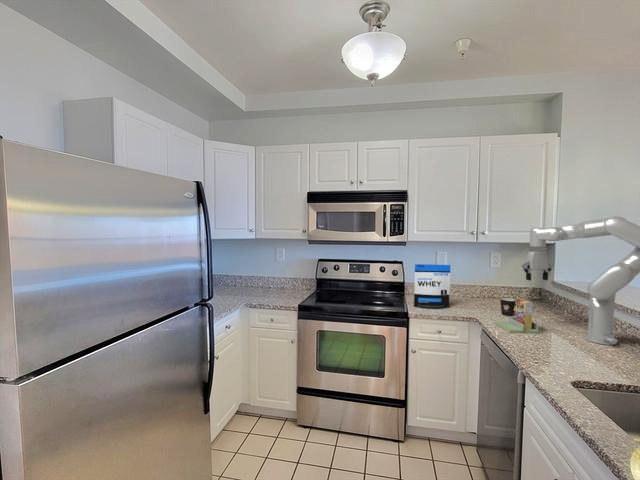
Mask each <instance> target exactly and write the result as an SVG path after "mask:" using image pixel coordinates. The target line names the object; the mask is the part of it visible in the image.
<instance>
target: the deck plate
mask: <svg viewBox="0 0 640 480" xmlns="http://www.w3.org/2000/svg"><path fill="white" fill-rule="evenodd" d="M493 324H494V326H497V327H499V328H500V329H502V330H504V331H506V332H507V333H509V334H540V333H542V332H543V331H542V330H541V329H539V328H538V331H536V330H534V329H532V328H531V330H528V329H524V331H522V330H520V329H518V328H516V327H515V326H513V325H511V324H509V321H497V320H496V321H494V323H493ZM542 334H543V333H542Z"/></svg>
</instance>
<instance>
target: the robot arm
mask: <svg viewBox="0 0 640 480" xmlns="http://www.w3.org/2000/svg"><path fill="white" fill-rule="evenodd" d="M605 236H613V237H616V238H617V239H619V240H621V241H624V242H625V243H628V244H629V245H632V246H633V247H635V248H634V249H633V250H632V251H631V252H629V254H627V255H626V256H625V257H624V258H622V259H621V260H620V261H619V262H617V263H614V264H613V265H611V266H610V267H609V268H607V269H606V270H605V271H604V272H602V273H601V274H599V276H598V277H595V279H594V280H592V281H591V282H590V283H589V284H588V285H587V294H588V295H589V305H588V306H589V307H588V319H587V320H588V323H587V324H588V325H587V334H584V335H583V339H585V341H588V342H591V343H595V344H599V345H607V346H612V345H613V346H614V345H617V343H618V341H619V340H618V339H616V338H615V335H614V334H613V332H614V315H615V304H616V303H615V302H616V294H617V293H618V292H619V291H621V290H622V289H623V288H625V287H626V286H627V285H629V284H630V283H631V282H632V281H633V280H634V279H635V278H636V276H638V275H639V274H640V225H637V224H636V223H633V222H631V221H629V220H627V219H626V218H625V217H623V216H610V217H607V218H600V219H594V220H587V221H582V222H580V223H577V224H571V225H570V224H569V225H565V226H564V225H563V226H558V227H555V226H554V227H545V228H544V227H532V228H530V230H529V251H528V252H527V255H526V261H525V263H523V264H522V265H521V268H522V270H523V272H524V273H525V280H527V281H532V273H531V272H532V271H542V280H543V281H548V280H549V279H548V278H549V274H550V272H551V271H552V268H553V267H554V265H553V264H551V263H549V259H548V253H547V250H548V248H547V242H559V241H560V242H561V241H566V240H573V239H574V240H575V239H589V238H598V237H605Z"/></svg>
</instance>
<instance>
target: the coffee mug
mask: <svg viewBox="0 0 640 480" xmlns="http://www.w3.org/2000/svg"><path fill="white" fill-rule="evenodd" d="M499 300H500V301H499V302H500V309H501V310H500V312H501V315H502V316H503V317H504V316H506V317H513V316H514V313H516V309H515V308H516V299H515V298H509V297H501V298H500V299H499Z"/></svg>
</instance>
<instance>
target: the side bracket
mask: <svg viewBox="0 0 640 480" xmlns="http://www.w3.org/2000/svg"><path fill="white" fill-rule="evenodd" d="M508 322H509V324H511V325H513V326H515V327H516V328H518V329H520V330H522V331H524V324H522V323H520V322H518V321H516V316H515V317H513V316H508ZM531 328H532V329H534V330H536V331H538V329H539V324H538V323H536V322H534V321H532V327H531Z"/></svg>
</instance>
